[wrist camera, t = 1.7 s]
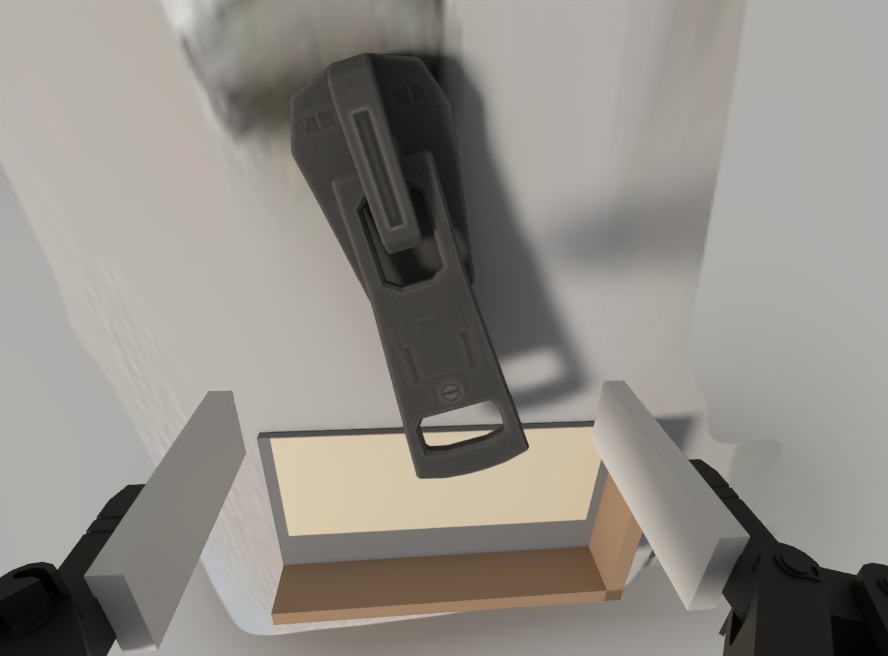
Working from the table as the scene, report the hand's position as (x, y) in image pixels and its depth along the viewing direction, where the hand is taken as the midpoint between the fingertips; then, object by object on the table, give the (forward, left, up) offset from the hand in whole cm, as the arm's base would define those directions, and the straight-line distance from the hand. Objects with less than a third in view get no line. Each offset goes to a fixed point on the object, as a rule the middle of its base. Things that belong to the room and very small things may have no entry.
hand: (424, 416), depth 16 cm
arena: (+21, +2, -15) cm, 26 cm away
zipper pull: (0, 0, -16) cm, 16 cm away
